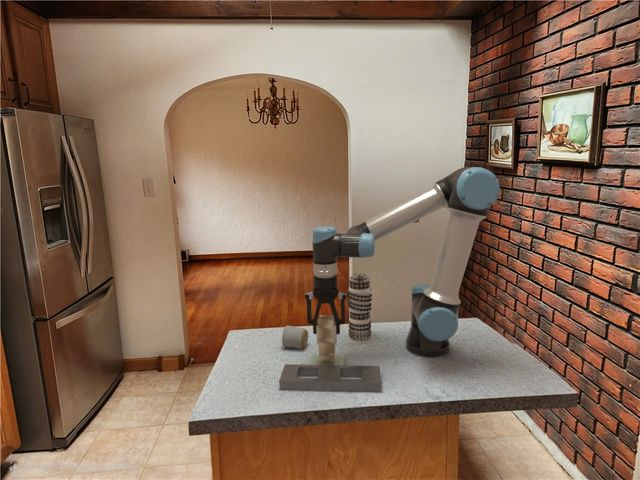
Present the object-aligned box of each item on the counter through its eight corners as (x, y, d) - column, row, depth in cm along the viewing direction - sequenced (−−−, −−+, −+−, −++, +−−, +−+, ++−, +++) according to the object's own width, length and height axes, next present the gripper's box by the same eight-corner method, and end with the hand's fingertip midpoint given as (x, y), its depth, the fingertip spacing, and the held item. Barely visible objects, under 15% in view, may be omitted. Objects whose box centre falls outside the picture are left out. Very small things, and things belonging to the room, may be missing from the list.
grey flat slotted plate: (379, 374, 130) (379, 366, 130) (381, 392, 121) (381, 382, 120) (285, 372, 133) (284, 364, 133) (279, 389, 123) (279, 380, 123)
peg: (335, 354, 141) (334, 315, 138) (334, 361, 136) (333, 320, 133) (320, 354, 141) (319, 315, 139) (319, 361, 136) (317, 320, 134)
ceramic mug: (303, 352, 147) (303, 331, 146) (281, 350, 149) (281, 329, 148) (311, 340, 157) (311, 321, 156) (291, 338, 160) (290, 319, 158)
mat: (344, 355, 144) (344, 354, 144) (343, 371, 133) (343, 370, 133) (312, 355, 145) (312, 354, 145) (309, 371, 134) (309, 369, 134)
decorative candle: (347, 333, 162) (346, 271, 158) (371, 333, 162) (371, 271, 157) (347, 343, 153) (346, 278, 149) (373, 343, 153) (372, 278, 148)
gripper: (295, 278, 130) (298, 347, 135) (353, 278, 129) (354, 348, 133) (299, 272, 138) (301, 337, 142) (353, 272, 136) (354, 338, 140)
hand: (326, 342), depth 137 cm, fingers closed on peg, 5 cm apart
